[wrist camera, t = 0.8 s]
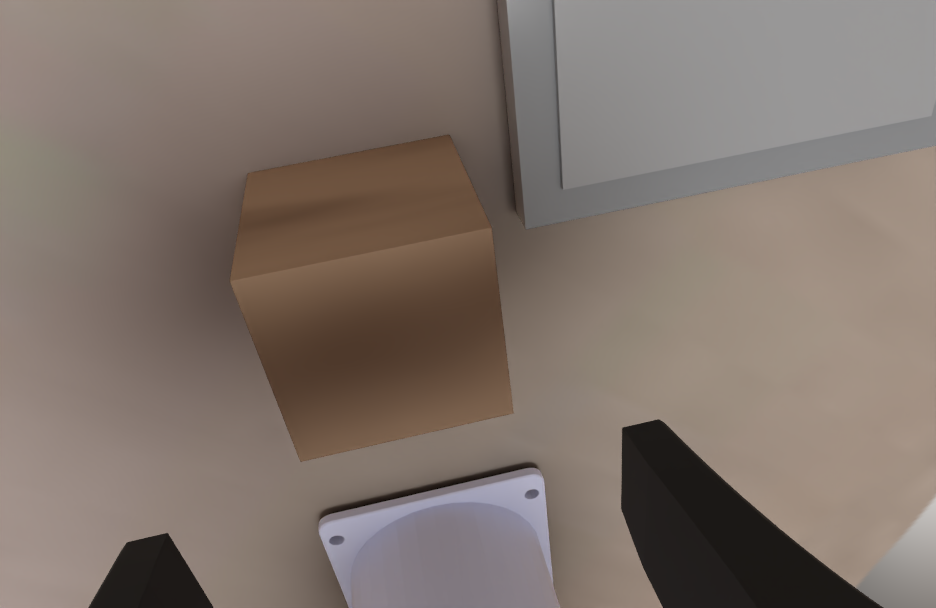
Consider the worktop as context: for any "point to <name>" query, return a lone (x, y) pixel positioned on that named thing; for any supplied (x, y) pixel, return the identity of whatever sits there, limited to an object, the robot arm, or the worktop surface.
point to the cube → (372, 296)
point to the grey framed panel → (705, 95)
